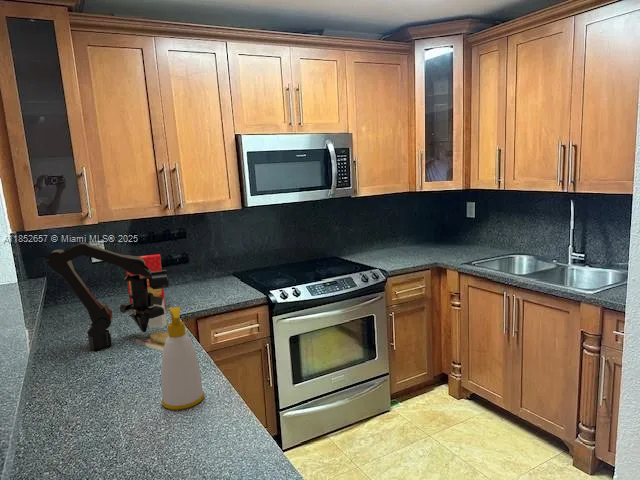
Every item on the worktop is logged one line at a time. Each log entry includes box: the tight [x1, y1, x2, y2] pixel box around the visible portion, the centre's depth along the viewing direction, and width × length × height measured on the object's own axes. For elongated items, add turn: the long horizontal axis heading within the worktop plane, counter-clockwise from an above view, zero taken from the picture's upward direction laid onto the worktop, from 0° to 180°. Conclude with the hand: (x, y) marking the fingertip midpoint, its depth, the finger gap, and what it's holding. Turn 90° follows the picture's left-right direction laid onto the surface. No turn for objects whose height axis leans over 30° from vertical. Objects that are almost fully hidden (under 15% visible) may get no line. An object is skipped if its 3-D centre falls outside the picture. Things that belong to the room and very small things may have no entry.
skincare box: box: [148, 299, 168, 329], centre depth 178 cm, size 6×4×12 cm
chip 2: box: [158, 332, 168, 346], centre depth 157 cm, size 4×4×4 cm
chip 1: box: [149, 330, 168, 344], centre depth 159 cm, size 4×4×4 cm
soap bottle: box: [160, 306, 205, 411], centre depth 118 cm, size 11×12×26 cm
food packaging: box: [125, 253, 166, 307], centre depth 203 cm, size 15×5×25 cm, turn 109°
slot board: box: [135, 332, 164, 352], centre depth 160 cm, size 16×8×2 cm, turn 58°
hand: (144, 331), depth 164 cm, fingers closed
